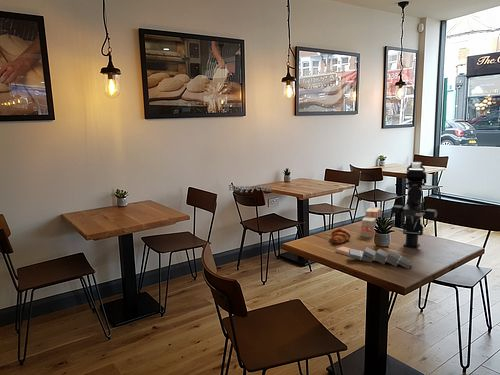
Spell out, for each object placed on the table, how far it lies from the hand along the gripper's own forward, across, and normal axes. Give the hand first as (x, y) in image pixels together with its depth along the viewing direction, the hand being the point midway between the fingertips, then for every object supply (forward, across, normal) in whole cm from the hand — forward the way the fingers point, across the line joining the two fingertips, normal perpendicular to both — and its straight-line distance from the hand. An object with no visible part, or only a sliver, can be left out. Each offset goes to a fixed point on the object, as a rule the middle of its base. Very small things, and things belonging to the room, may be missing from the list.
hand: (412, 229), depth 176 cm
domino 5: (+12, +3, -14) cm, 19 cm away
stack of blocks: (+13, -29, +28) cm, 43 cm away
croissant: (+13, -38, +6) cm, 40 cm away
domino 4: (+12, -2, -14) cm, 18 cm away
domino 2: (+12, -13, -15) cm, 23 cm away
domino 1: (+12, -17, -14) cm, 25 cm away
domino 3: (+12, -7, -14) cm, 20 cm away
